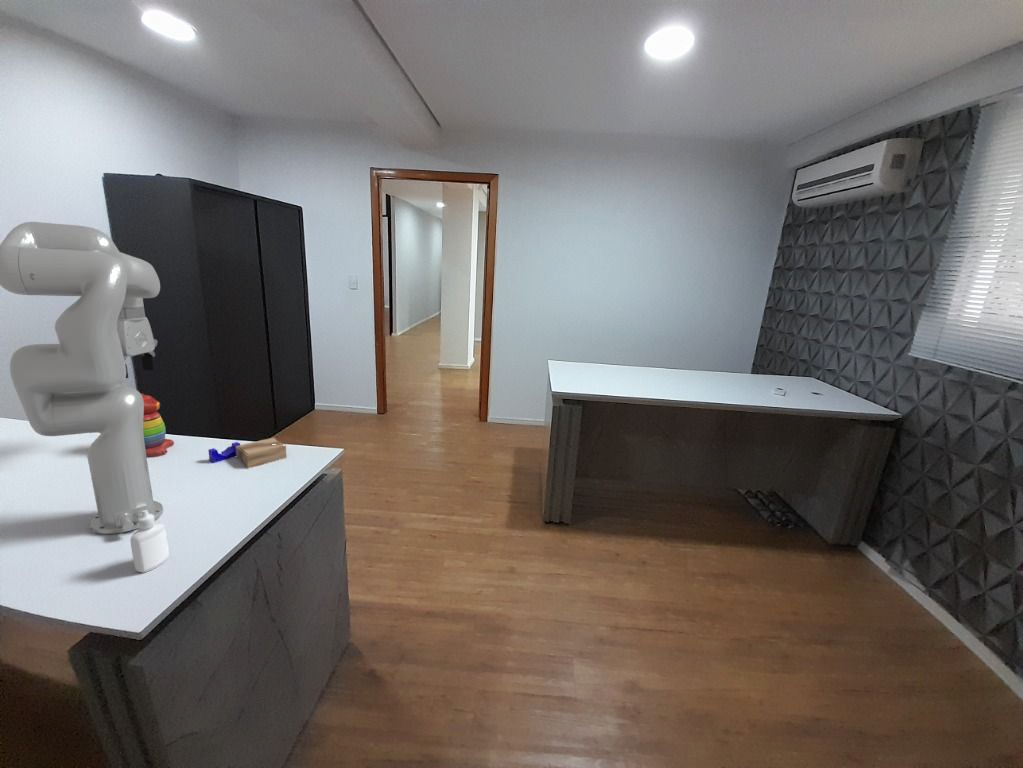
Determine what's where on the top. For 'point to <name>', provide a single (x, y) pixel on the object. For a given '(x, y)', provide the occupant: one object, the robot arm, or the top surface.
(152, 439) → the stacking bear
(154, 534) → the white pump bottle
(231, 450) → the cable holder
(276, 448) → the plinth
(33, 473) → the top surface
